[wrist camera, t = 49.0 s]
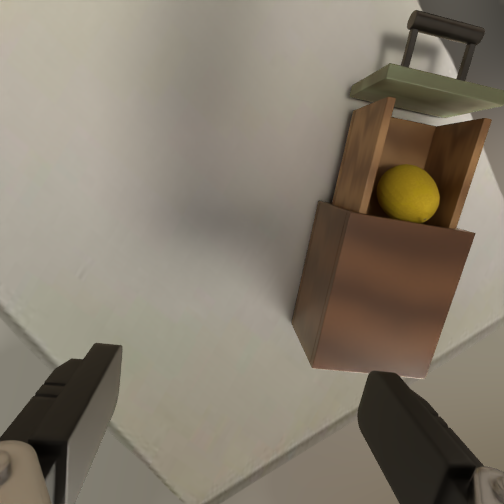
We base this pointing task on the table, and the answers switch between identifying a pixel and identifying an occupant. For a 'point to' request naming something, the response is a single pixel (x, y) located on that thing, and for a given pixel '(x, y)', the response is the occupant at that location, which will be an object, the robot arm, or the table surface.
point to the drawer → (417, 126)
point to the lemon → (408, 193)
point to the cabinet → (376, 291)
